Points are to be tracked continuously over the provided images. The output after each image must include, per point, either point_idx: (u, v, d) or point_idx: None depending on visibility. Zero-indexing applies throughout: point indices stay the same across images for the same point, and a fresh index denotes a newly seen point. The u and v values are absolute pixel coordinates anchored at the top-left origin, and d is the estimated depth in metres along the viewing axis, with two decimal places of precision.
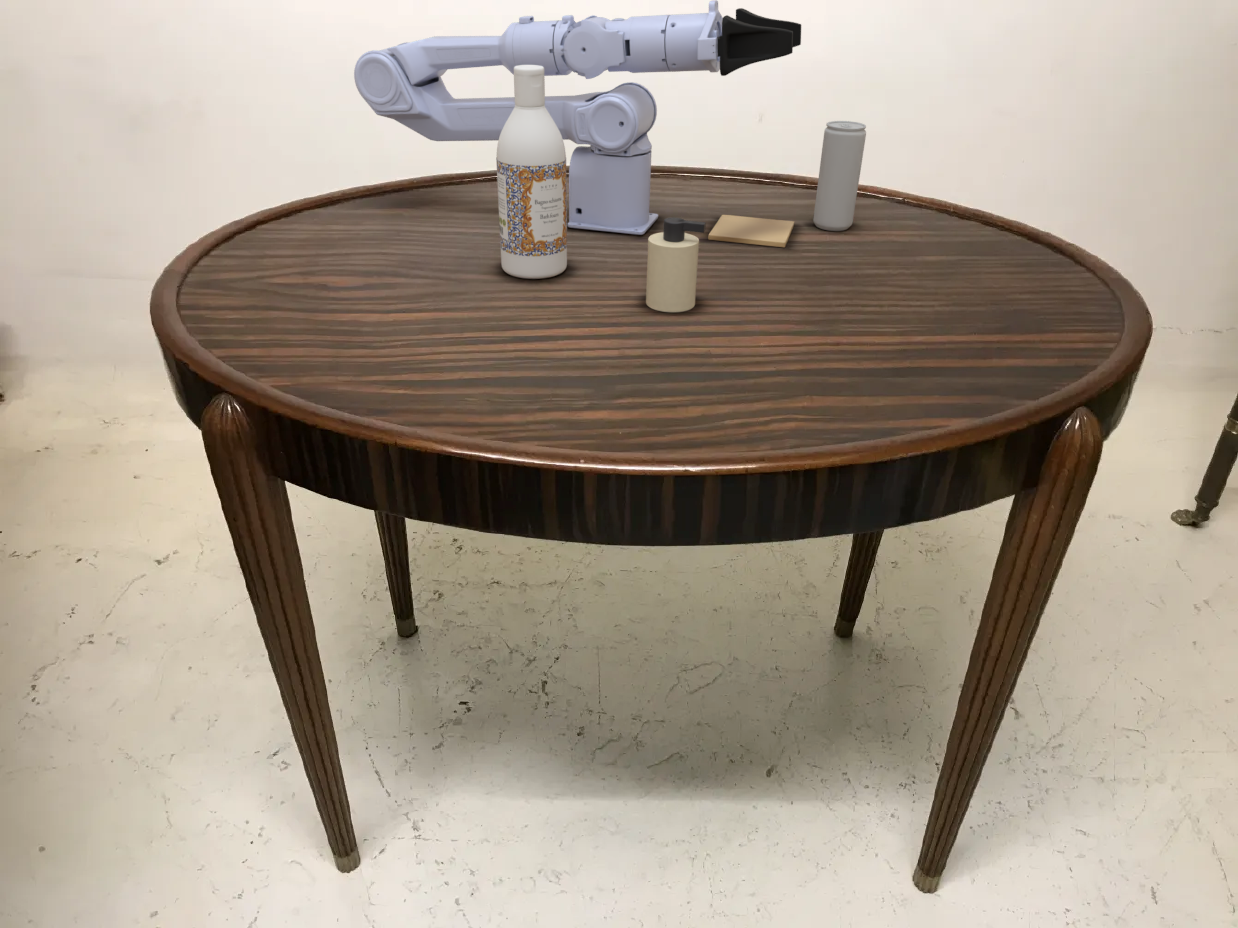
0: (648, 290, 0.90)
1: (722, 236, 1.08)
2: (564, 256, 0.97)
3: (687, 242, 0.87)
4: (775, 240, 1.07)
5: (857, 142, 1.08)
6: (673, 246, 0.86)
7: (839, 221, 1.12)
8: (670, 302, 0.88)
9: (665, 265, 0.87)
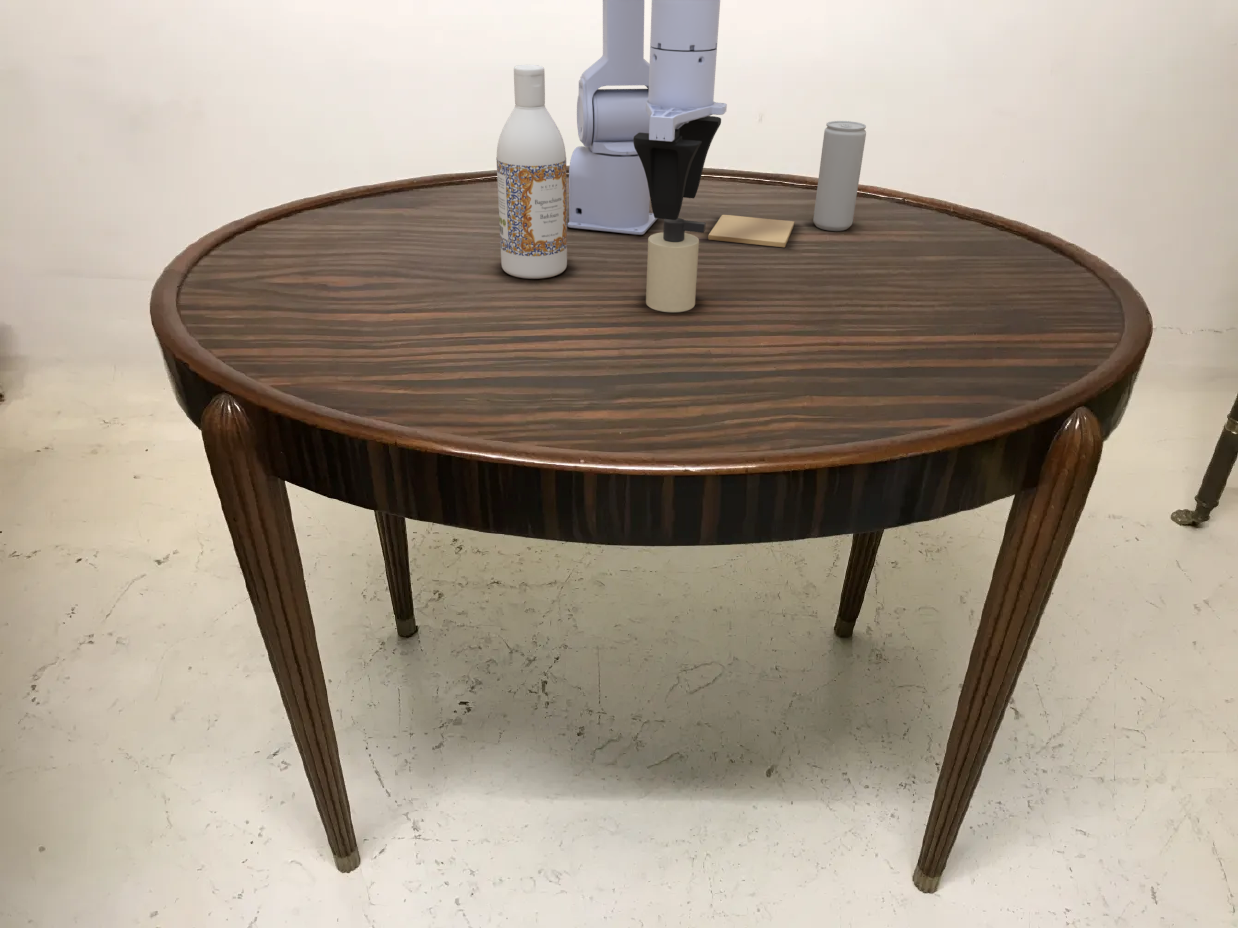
0: (648, 290, 0.90)
1: (722, 236, 1.08)
2: (564, 256, 0.97)
3: (687, 242, 0.87)
4: (775, 240, 1.07)
5: (857, 142, 1.08)
6: (673, 246, 0.86)
7: (839, 221, 1.12)
8: (670, 302, 0.88)
9: (665, 265, 0.87)
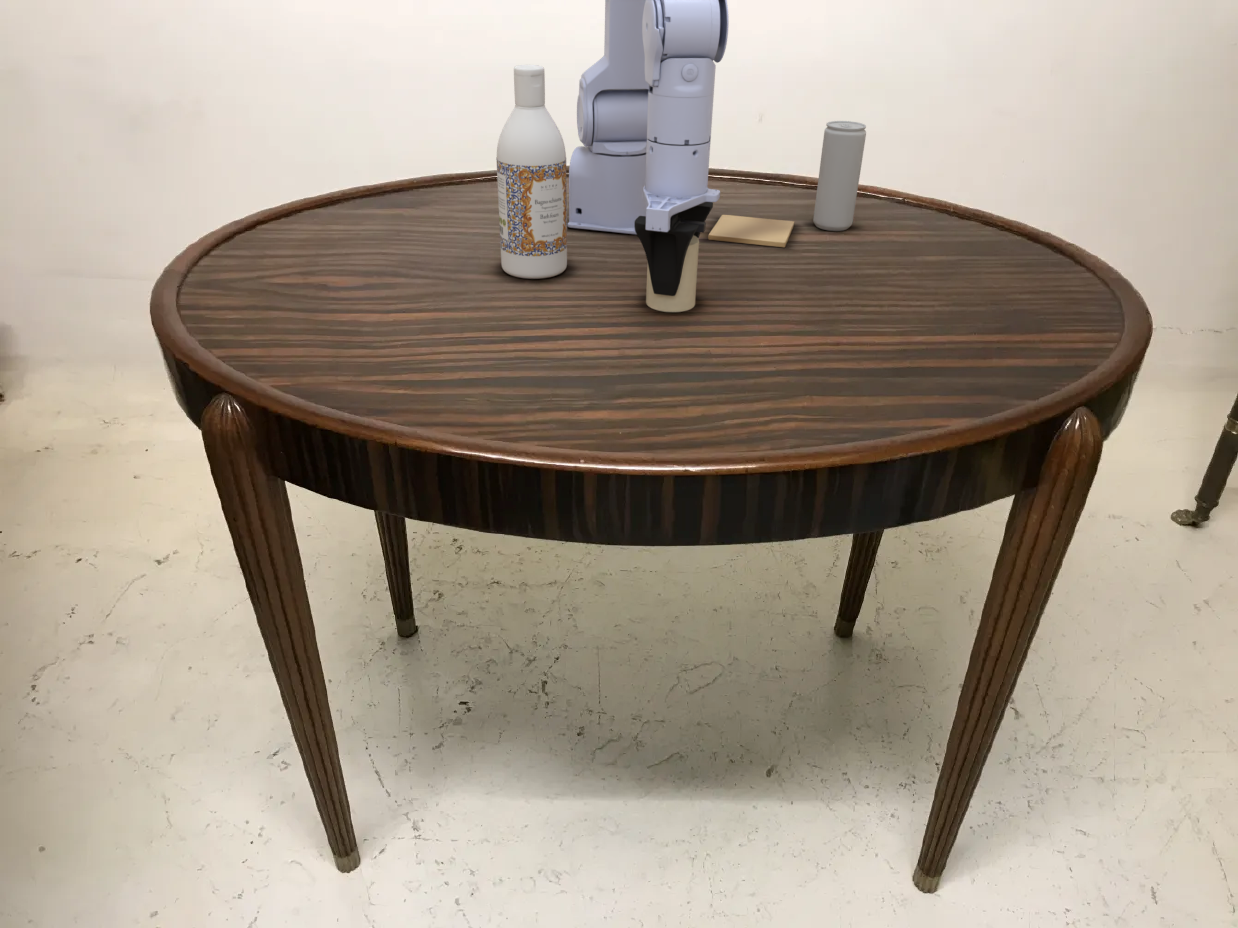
0: (648, 290, 0.90)
1: (722, 236, 1.08)
2: (564, 256, 0.97)
3: None
4: (775, 240, 1.07)
5: (857, 142, 1.08)
6: None
7: (839, 221, 1.12)
8: (671, 301, 0.89)
9: None
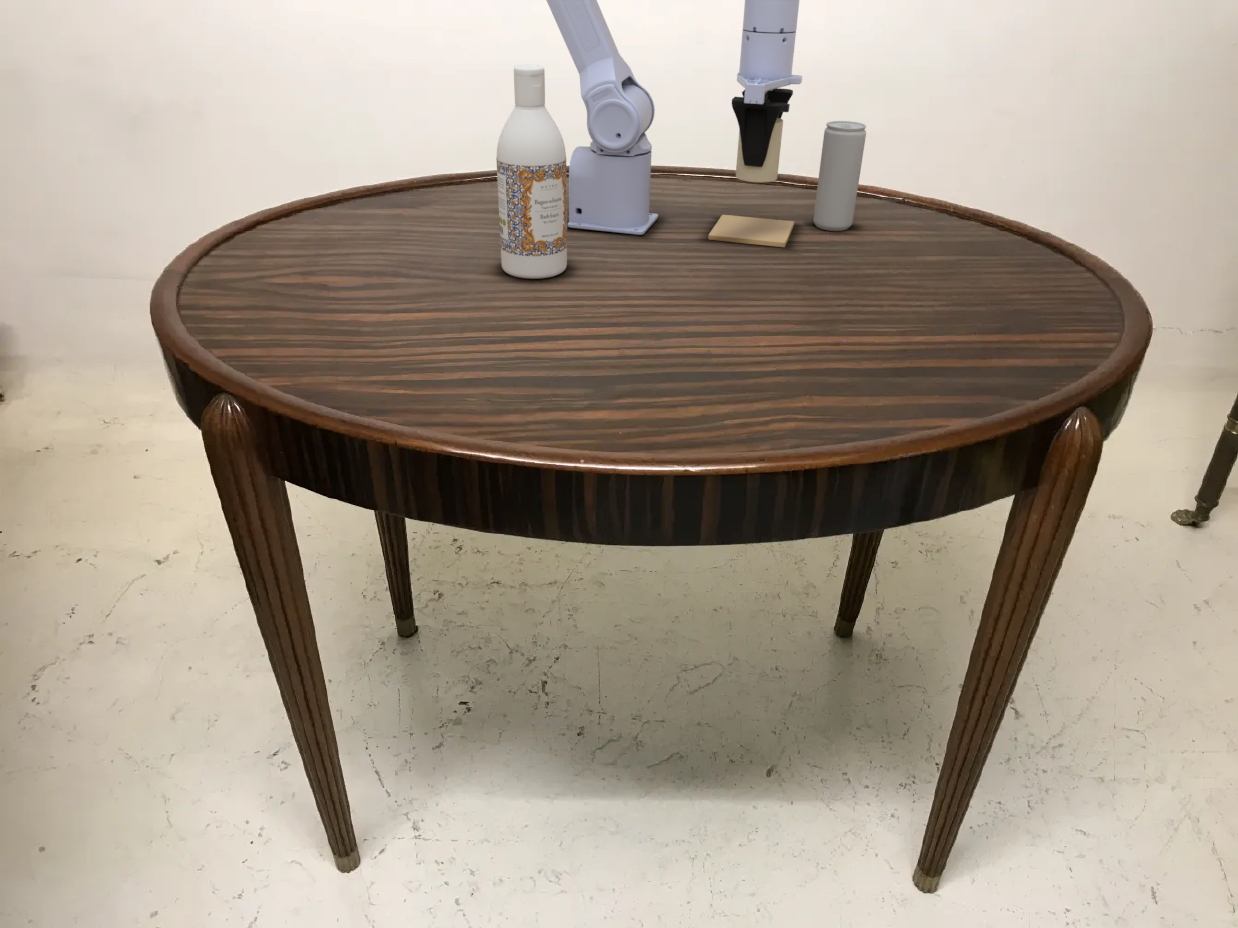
0: (739, 164, 1.06)
1: (722, 236, 1.08)
2: (564, 256, 0.97)
3: None
4: (775, 240, 1.07)
5: (857, 142, 1.08)
6: None
7: (839, 221, 1.12)
8: (758, 173, 1.05)
9: None
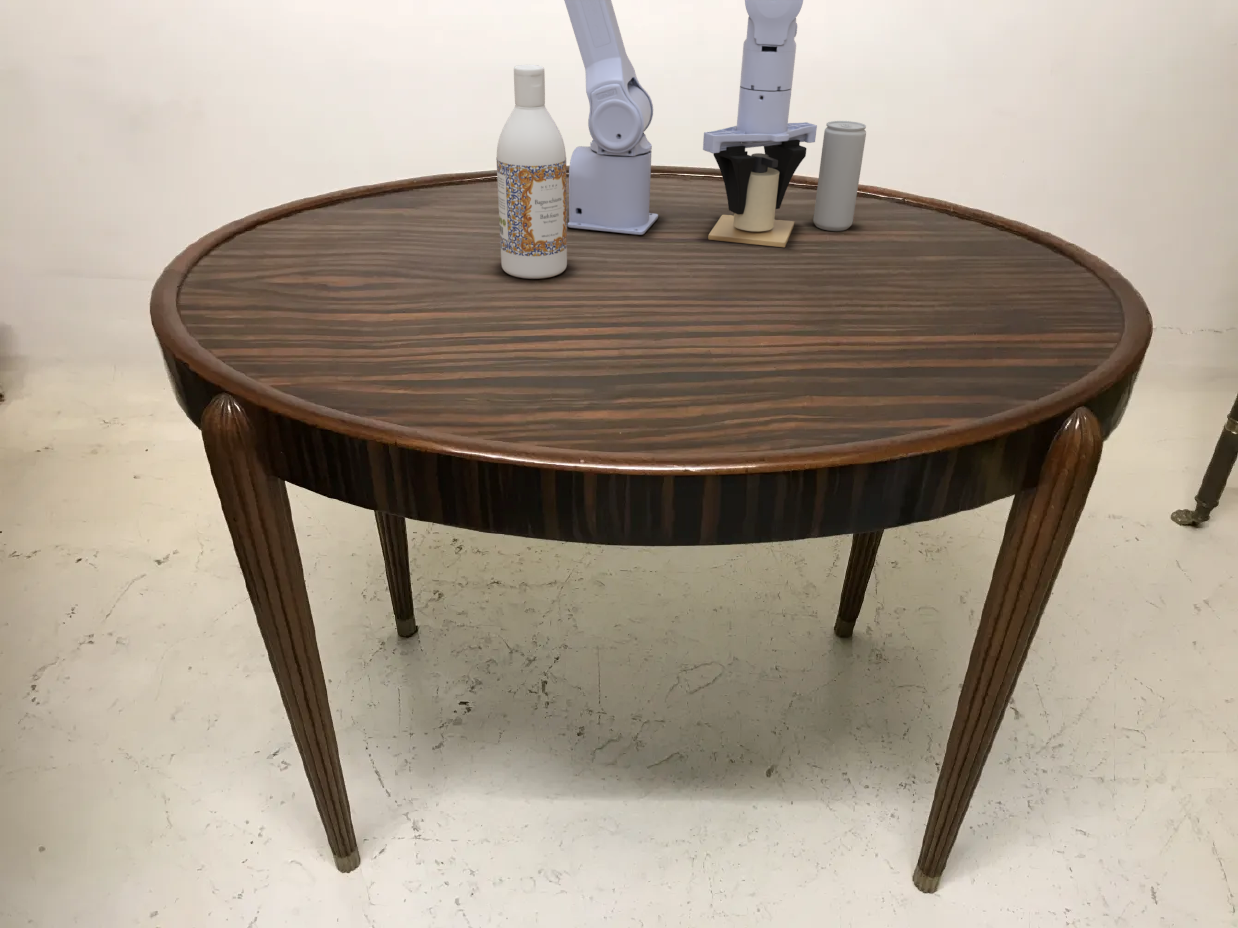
0: None
1: (722, 236, 1.08)
2: (564, 256, 0.97)
3: (761, 174, 1.07)
4: (775, 240, 1.07)
5: (857, 142, 1.08)
6: None
7: (839, 221, 1.12)
8: (740, 220, 1.09)
9: None
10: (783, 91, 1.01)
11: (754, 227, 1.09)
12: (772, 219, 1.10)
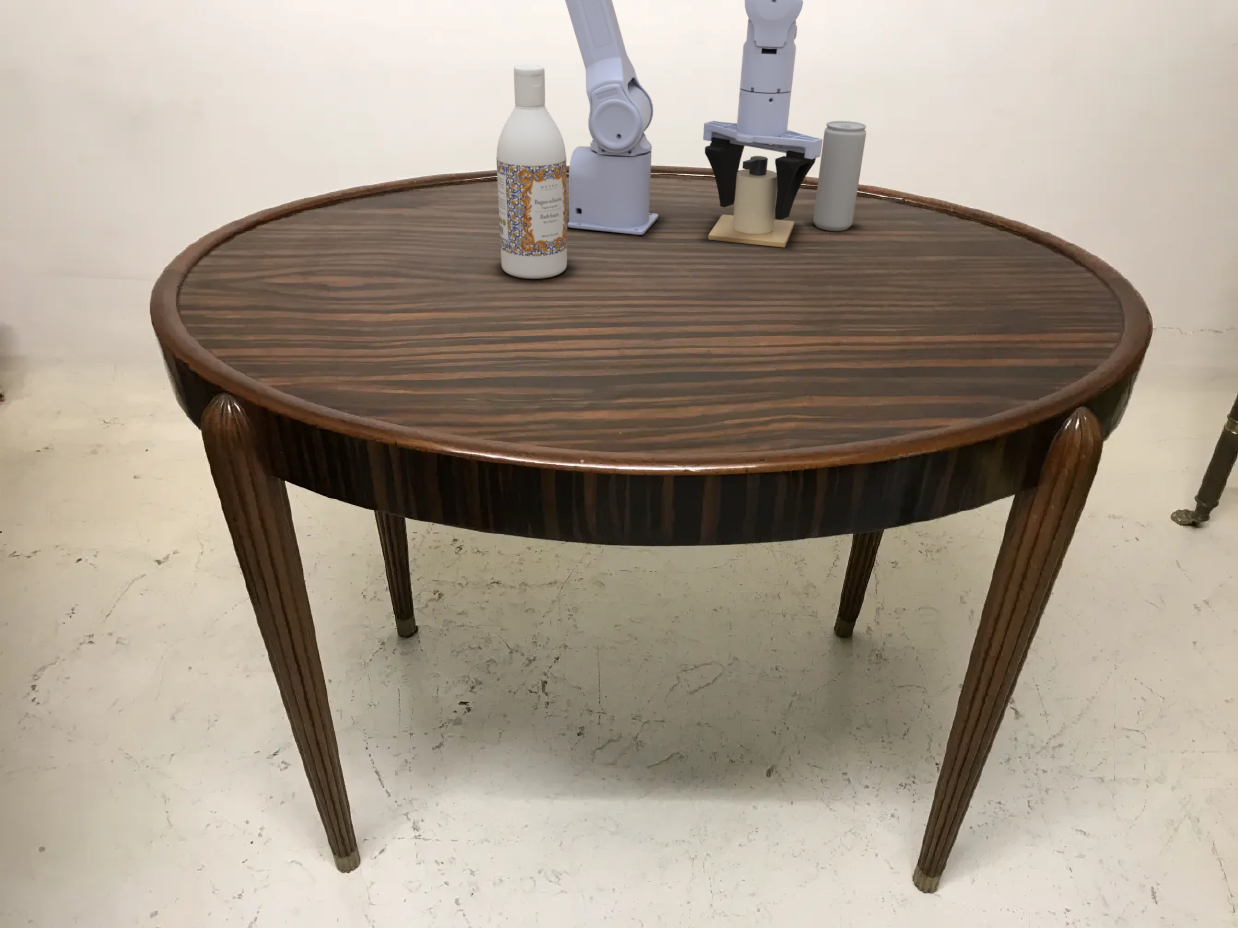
0: None
1: (722, 236, 1.08)
2: (564, 256, 0.97)
3: (745, 175, 1.07)
4: (775, 240, 1.07)
5: (857, 142, 1.08)
6: (739, 171, 1.09)
7: (839, 221, 1.12)
8: None
9: None
10: (754, 93, 1.01)
11: (734, 225, 1.10)
12: (751, 224, 1.09)
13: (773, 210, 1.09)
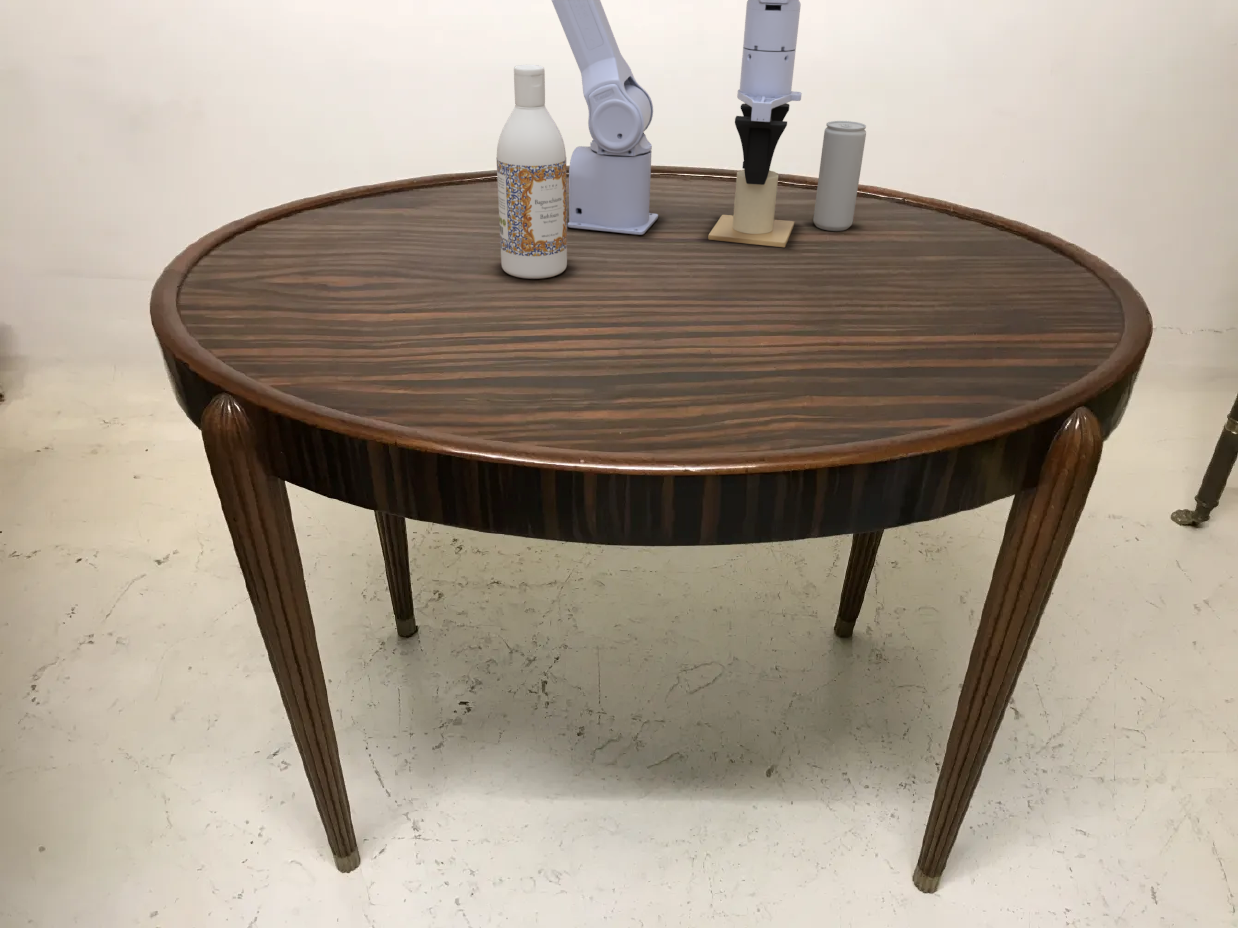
0: None
1: (722, 236, 1.08)
2: (564, 256, 0.97)
3: None
4: (775, 240, 1.07)
5: (857, 142, 1.08)
6: (739, 171, 1.09)
7: (839, 221, 1.12)
8: None
9: None
10: (795, 49, 1.01)
11: (734, 225, 1.10)
12: (751, 224, 1.09)
13: (773, 210, 1.09)
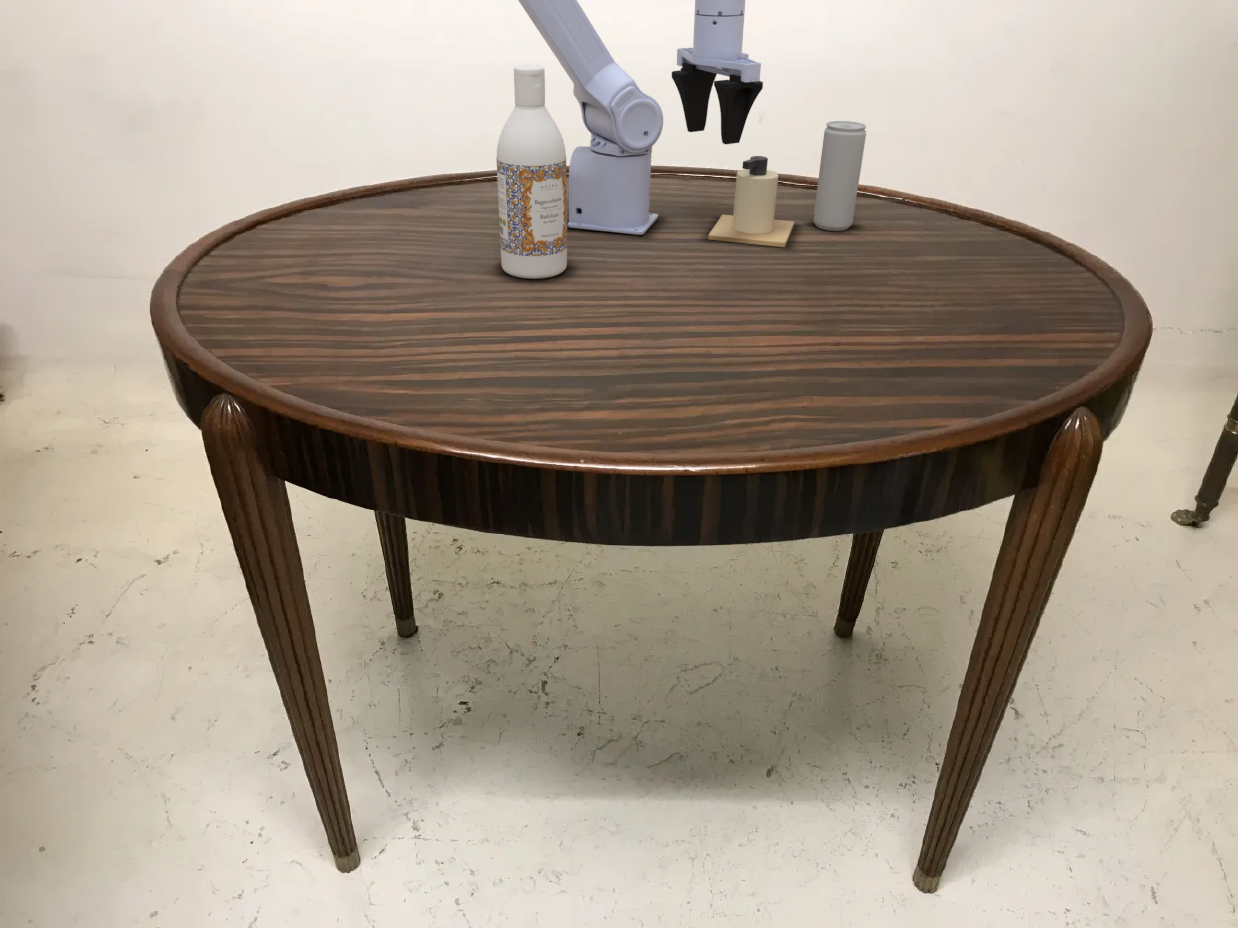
0: None
1: (722, 236, 1.08)
2: (564, 256, 0.97)
3: (745, 175, 1.07)
4: (775, 240, 1.07)
5: (857, 142, 1.08)
6: (739, 171, 1.09)
7: (839, 221, 1.12)
8: None
9: None
10: None
11: (734, 225, 1.10)
12: (751, 224, 1.09)
13: (773, 210, 1.09)
